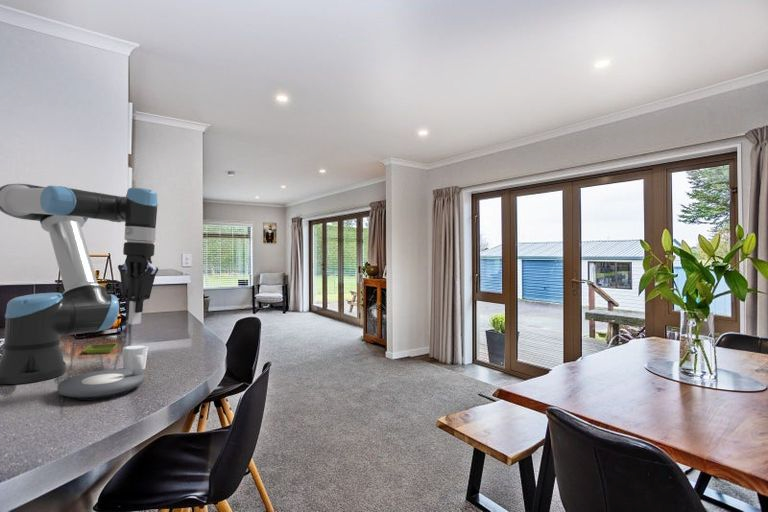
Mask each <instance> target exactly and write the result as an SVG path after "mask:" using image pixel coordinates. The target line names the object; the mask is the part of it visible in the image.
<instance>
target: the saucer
mask: <svg viewBox="0 0 768 512" xmlns="http://www.w3.org/2000/svg"><path fill="white" fill-rule="evenodd" d="M117 346H118V343H104V344H100V343H99V344H98V343H97V344H89V345H88V346H86V347H85V348H84V349H83V352H84V353H86V354H87V355H90V354H91V355H92V354H93V355H95V354H96V355H97V354H108V353H109V354H110V353H111V352H112V351H114V349H116V347H117Z"/></svg>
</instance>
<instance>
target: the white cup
mask: <svg viewBox="0 0 768 512" xmlns="http://www.w3.org/2000/svg"><path fill="white" fill-rule="evenodd" d="M148 351H149V345H147V344H131V345H128V346H127V345H126V346H123V347H122V360H123V361H122V362H123V364H122V365H123V369H130V370H132V369H133V356H136V355H143V369H144V370H145V369H146V364H147V357H148Z"/></svg>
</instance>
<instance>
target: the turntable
mask: <svg viewBox="0 0 768 512" xmlns="http://www.w3.org/2000/svg"><path fill="white" fill-rule="evenodd" d="M144 382H145V373H144V370H143V355H136V356H133V369H132V370H130V369H124V368H123V369H119V368H118V369H115V368H114V369H105V370H97V371H91V372H85V373H82V374H76V375H74V376H70V377H67V378H65V379H63V380H61V381H60V382H59V383H58V385H57V394H59V395H61V396H63V397H69V398H70V397H71V398H72V397H92V396H102V395H108V394H113V393H118V392H122V391H126V390H129V389H131V390H132V389H134V388H136V387H138V386H140V385H142V384H143V383H144ZM129 391H130V390H129Z"/></svg>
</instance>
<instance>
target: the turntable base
mask: <svg viewBox="0 0 768 512" xmlns="http://www.w3.org/2000/svg"><path fill="white" fill-rule="evenodd" d="M131 390H132V389H129V390H126V391H122V392H118V393H113V394H108V395H102V396H92V397H71V398H72V399H75V400H84V401H86V400H87V401H88V400H99V399H107V398H113V397H116V396H120V395H122V394H123V395H124V394H125V393H128V392H130V391H131Z"/></svg>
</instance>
